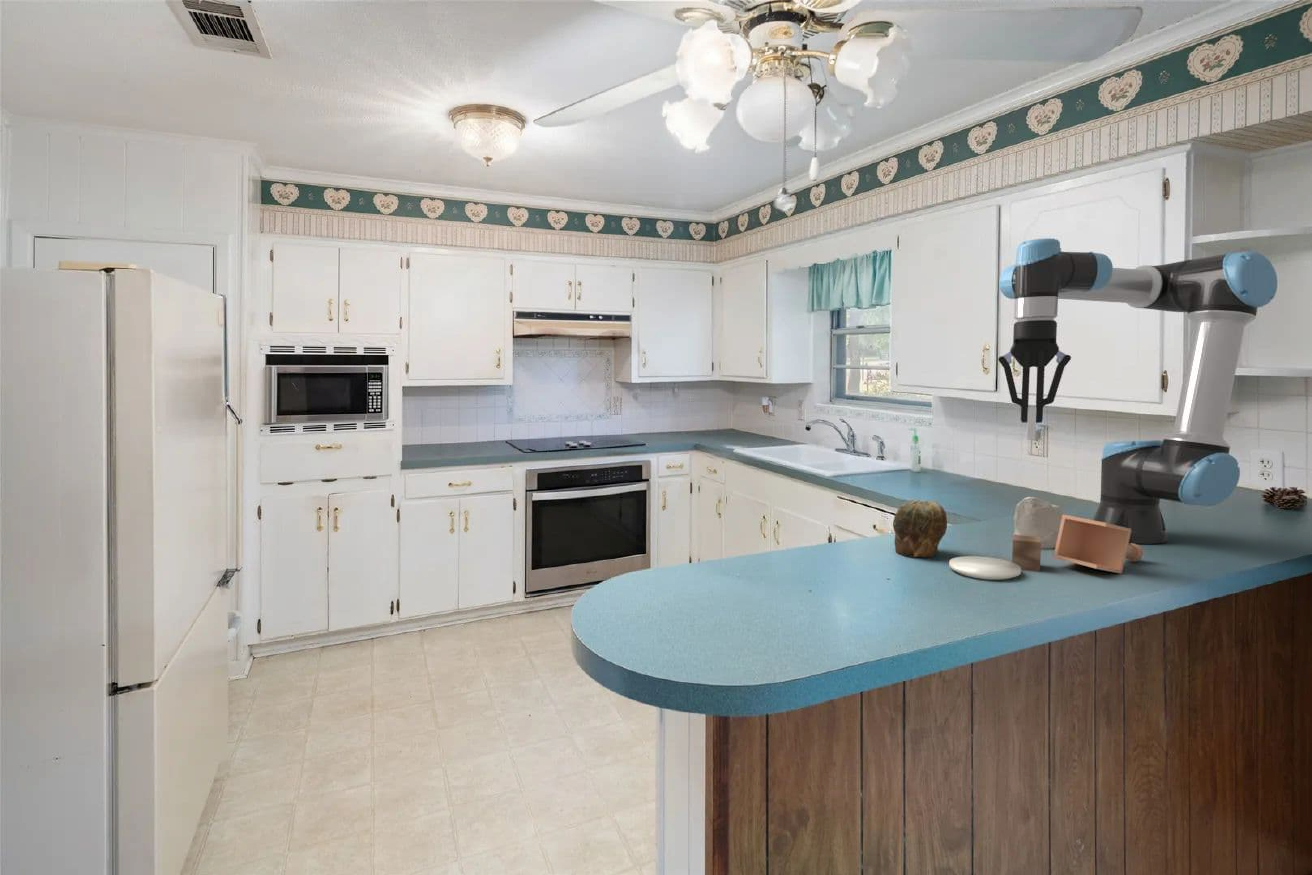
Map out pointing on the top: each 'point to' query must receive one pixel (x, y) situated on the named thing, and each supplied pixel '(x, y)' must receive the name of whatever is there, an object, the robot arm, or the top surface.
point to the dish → (985, 567)
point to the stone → (1038, 520)
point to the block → (1027, 552)
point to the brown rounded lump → (919, 528)
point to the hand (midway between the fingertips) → (1030, 438)
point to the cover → (1095, 544)
